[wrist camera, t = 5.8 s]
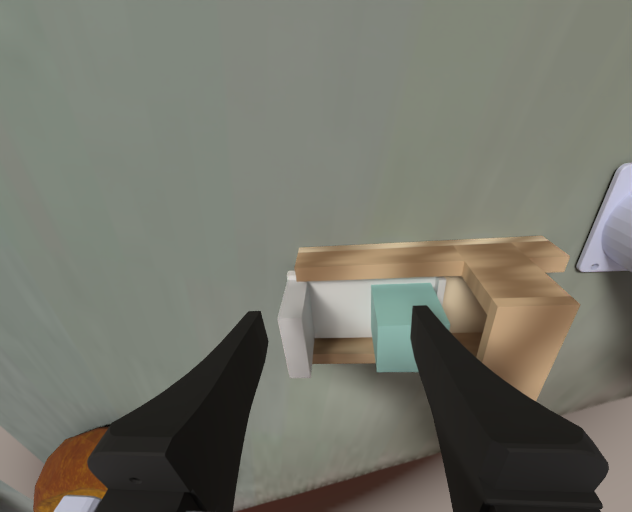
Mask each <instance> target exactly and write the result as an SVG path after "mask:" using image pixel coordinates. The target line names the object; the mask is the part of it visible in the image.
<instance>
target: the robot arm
mask: <svg viewBox="0 0 632 512" xmlns="http://www.w3.org/2000/svg"><path fill="white" fill-rule="evenodd" d="M593 264H594V265H593ZM592 265H593V266H592ZM576 267H577V269H578V270H580V271H581V272H602V271H630V272H632V163H625V164H623V165H621V166H620V167H619V168H618V169H617V170H616V172H615V175H614V177H613V179H612V182H611V184H610V186H609V189H608V191H607V194H606V196H605V198H604V201H603V203H602V206H601V208H600V210H599V213H598V215H597V218H596V220H595V222H594V225H593V227H592V229H591V232H590V234H589V237H588V239H587V241H586V244H585V246H584V249H583V251H582V253H581V256H580V258H579V261H578V263H577V266H576ZM410 339H411V345H412V350H413V354H414V359H415V362H416V365H417V368H418V371H419V374H420V377H421V380H422V383H423V386H424V389H425V392H426V395H427V398H428V401H429V404H430V407H431V411H432V414H433V418H434V423H435V427H436V431H437V436H438V440H439V444H440V449H441V454H442V458H443V463H444V467H445V473H446V477H447V482H448V487H449V492H450V497H451V503H452V508H453V512H601V511H600V510H599V509H602V508H603V506H602V503H601V501H600V500H599V498H598V496H597V495H596V493H595V492H594V490H595V489H596V488H597V487H598V485H599V484H600V483H601V482H602V481H603V479H604V478H605V477H606V475H607V473H608V470H609V466H608V462H607V461H606V459H605V458H604V456H603V455H602V454H601V452H600V451H599V449H598V448H597V447H596V445H595V444H594V442H593V441H592V440H591V439H590V437H589V436H588V435H587V434H586V433H585V431H584V430H583V429H582V428H581V427H579V426H577V425H575V424H574V423H572V422H570V421H568V420H567V419H565V418H563V417H561V416H559V415H558V414H556V413H554V412H552V411H550V410H549V409H547V408H545V407H544V406H542V405H541V404H539V403H537V402H536V401H534V400H533V399H531V398H529V397H528V396H526V395H525V394H523V393H522V392H520V391H519V390H517V389H516V388H515V387H513V386H512V385H510V384H509V383H508V382H506V381H505V380H503V379H502V378H501V377H499V376H498V375H497V374H495V373H494V372H493V371H492V370H490V369H489V368H488V367H487V366H485V365H484V364H483V363H482V362H481V361H480V360H478V359H477V358H476V357H475V356H474V355H473V354H472V353H471V352H470V351H469V350H468V349H466V348H465V347H464V346H463V345H462V344H461V343H460V342H459V341H458V340H457V339H456V338H455V336H454V335H453V334H452V333H451V332H450V331H449V330H448V329H447V328H446V327H445V326H444V325H443V324H442V322H441V321H440V320H439V319H438V318H437V317H436V315H435V314H434V313H433V312H432V311H431V309H430V308H429V307H428V306H427V305H418V306H413V308H412V321H411V334H410ZM267 347H268V338H267V334H266V330H265V326H264V323H263V319H262V315H261V311H248V313H247V314H246V315H245V316H244V317H243V318H242V319H241V320H240V321H239V323H238V324H237V325H236V326H235V327H234V328H233V329H232V331H231V332H230V333H229V334H228V335H227V336H226V337H225V338H224V339H223V340H222V342H221V343H220V344H219V345H218V346H217V347H216V348H215V349H214V350H213V351H212V352H211V353H210V354H209V355H208V356H207V357H206V358H205V359H204V360H203V361H201V362H200V363H199V364H198V365H197V366H196V367H195V368H193V369H192V370H191V371H190V372H189V373H187V374H186V375H185V376H184V377H182V378H181V379H180V380H178V381H177V382H176V383H174V384H173V385H172V386H170V387H169V388H168V389H166V390H165V391H164V392H162V393H161V394H159V395H158V396H156V397H155V398H153V399H152V400H150V401H149V402H147V403H145V404H144V405H142V406H141V407H139V408H137V409H136V410H134V411H132V412H130V413H129V414H127V415H125V416H123V417H122V418H120V419H118V420H116V421H114V422H113V423H112V424H111V425H110V426H109V428H108V429H107V431H106V432H105V434H104V435H103V437H102V438H101V440H100V441H99V443H98V444H97V445H96V447H95V448H94V450H93V451H92V453H91V454H90V456H89V457H88V460H87V464H88V468H89V470H90V471H91V472H92V473H93V474H94V475H95V476H96V477H97V478H98V479H99V480H100V481H101V482H102V483H103V484H104V485H105V486H106V488H107V489H108V490H107V492H106V493H105V495H104V497H103V498H102V499H101V498H98V497H95V496H83V495H66V496H64V497H63V498H62V500H61V501H60V503H59V504H58V506H57V507H56V509H55V510H54V512H233V505H234V498H235V491H236V484H237V478H238V471H239V465H240V459H241V454H242V448H243V443H244V437H245V432H246V427H247V422H248V418H249V413H250V409H251V406H252V402H253V399H254V396H255V392H256V389H257V386H258V383H259V379H260V376H261V373H262V370H263V366H264V363H265V358H266V353H267Z"/></svg>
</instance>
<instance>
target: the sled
mask: <svg viewBox="0 0 632 512" xmlns="http://www.w3.org/2000/svg"><path fill="white" fill-rule="evenodd" d="M408 283H431V284H432V286H433V288H434V291H435V293H436V295H437V297H438V299H439V301H440V303H441V305H442V304H443V298H444V292H445V286H446V279H445V277H444V276H441V277H414V278H387V279H360V280H333V281H307V282H297V281H296V275H295V271H288V273H287V284H286V288H285V292H284V295H283V299H282V303H281V307H280V311H279V314H278V318H277V319H278V323H279V328H280V333H281V338H282V343H283V347H284V352H285V357H286V362H287V367H288V371H289V376H290V378H311V370H312V360H313V349H314V338H360V337H372V332H371V285H379V284H408Z"/></svg>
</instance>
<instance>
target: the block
mask: <svg viewBox="0 0 632 512" xmlns="http://www.w3.org/2000/svg"><path fill="white" fill-rule="evenodd" d="M418 305H427V306H428V307H429V308H430V309H431V311H432V312H433V313H434V314H435V315H436V317H437V318H438V319H439V320H440V321H441V322H442V324H443V325H444V326H445V327H446V328H447V329H448V330H450V322H449V320H448V318H447V316H446V314H445V312H444V310H443V307H442V305H441V303H440V301H439V299H438V297H437V295H436V293H435V291H434V288H433V286H432V284H431V283H408V284H379V285H371V332H372V340H373V347H374V354H375V362H376V369H377V372H419V371H418V368H417V365H416V362H415V359H414V354H413V350H412V345H411V339H410V334H411V321H412V308H413V306H418Z"/></svg>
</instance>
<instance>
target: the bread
mask: <svg viewBox="0 0 632 512" xmlns="http://www.w3.org/2000/svg"><path fill="white" fill-rule="evenodd" d="M108 428H109V427H99V428H96V429H93V430H90V431H88V432H85V433H82V434H79V435H77V436H74V437H71V438H68V439H66V440H65V441H64V442H63V443H62V444H61V445H60V446H59V447H58V448H57V449H56V450H55V451H54V452H53V453H52V454H51V455H50V456H49V457H48V459H47V461H46V463H45V465H44V467H43V469H42V472H41V474H40V476H39V478H38V481H37V483H36V485H35V494H34V506H33V510H34V512H54V510H55V509H56V507H57V506H58V504H59V503H60V501H61V500H62V498H63V497H64V496H66V495H83V496H95V497H98V498H101V499H102V498H103V497H104V495H105V493H106V492H107V490H108V489H107V488H106V486H105V485H104V484H103V483H102V482H101V481H100V480H99V479H98V478H97V477H96V476H95V475H94V474H93V473H92V472H91V471H90V470H89V468H88V464H87V460H88V457H89V456H90V454H91V453H92V451H93V450H94V448H95V447H96V445H97V444H98V443H99V441H100V440H101V438H102V437H103V435H104V434H105V432H106V431H107V429H108Z"/></svg>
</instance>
